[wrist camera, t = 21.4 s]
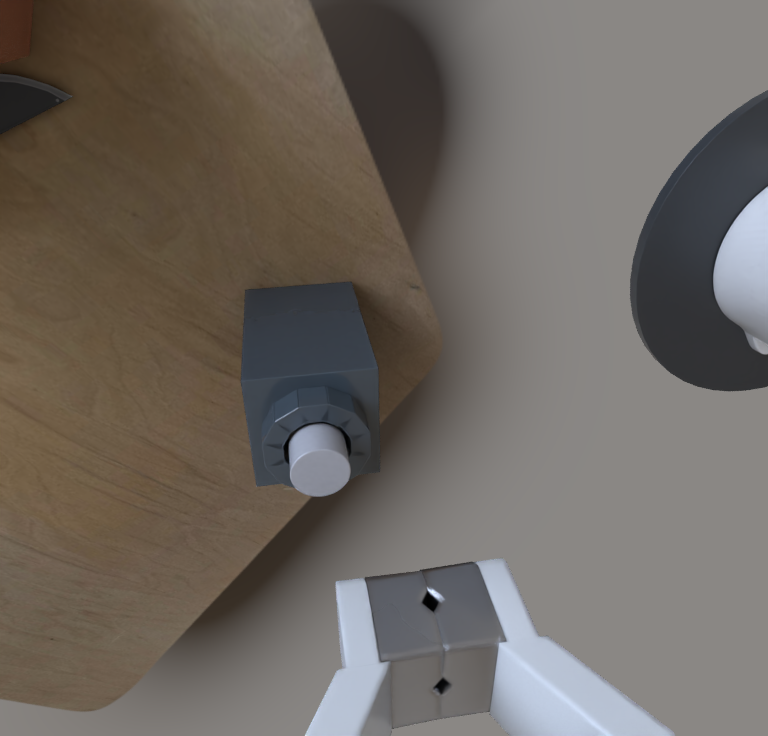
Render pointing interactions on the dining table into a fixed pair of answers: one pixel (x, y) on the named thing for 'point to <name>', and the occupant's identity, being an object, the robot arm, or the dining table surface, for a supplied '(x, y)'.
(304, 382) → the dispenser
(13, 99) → the knife
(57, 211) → the dining table surface
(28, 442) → the dining table surface
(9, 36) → the button base
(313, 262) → the dining table surface
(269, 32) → the dining table surface
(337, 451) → the cylinder
